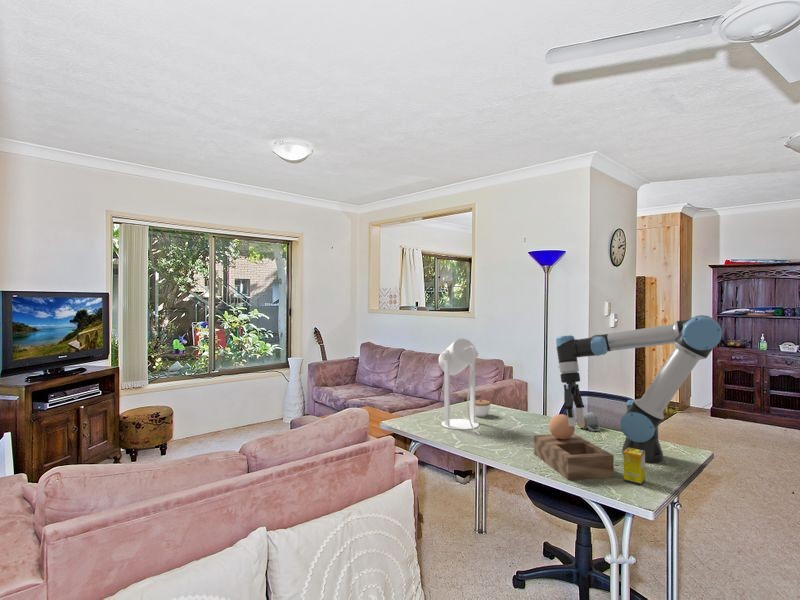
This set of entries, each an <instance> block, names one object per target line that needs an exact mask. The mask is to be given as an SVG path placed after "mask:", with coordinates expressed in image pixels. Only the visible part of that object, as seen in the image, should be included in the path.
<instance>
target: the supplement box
mask: <svg viewBox="0 0 800 600" xmlns="http://www.w3.org/2000/svg"><path fill="white" fill-rule="evenodd" d="M622 456H623V457H622V458H623V464H622V465H623V483H624V482H625V483H628V484H632V485H637V486H642V485H643V484H644V482H645V481H646V462H645V451H643V450H638V449H633V448H627V449H626V450H625V451H624V452H623V454H622Z"/></svg>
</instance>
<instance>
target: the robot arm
mask: <svg viewBox="0 0 800 600" xmlns="http://www.w3.org/2000/svg"><path fill="white" fill-rule="evenodd" d="M722 329H723V328H722V327H721V325H720V324H719V322H718V321H717V320H716V319H715V318H714V317H711V316H708V315H704V314H703V315H695V316H693V317H691V318H686V319H681V320H676V321H675V322H674V323H673V324H672V323H671V324H665V325H659V326H651V327H646V328H645V327H644V328H638V329H637V328H636V329H631V330H623V331H617V332H608V333H604V334H593V335H592V336H590V337H586V338H580V339H576V338H575V336H573V335H571V334H569V335H560V336H558V337H556V339H555V342H556V343H555V344H556V353H557V359H558V366H557V367H558V369H559V372H560V373H561V374H560V375H559V376H560V381H561V383H563V389H564V392H563V394H564V395H563V397H564V406H563V410H566V416H567V417H568V424H569V426H575V427H577V423H578V424H585V423H584V416H583V414H584V410H583V409H584V408H585V405H584V402H583V399H582V395H581V392H580V386H579V383H580V382H581V375H580V372H579V371H580V369H579V367H580V366H579V362H578V358H584V357H593V356H594V357H595V356H597V357H599V356H603V355H606V354H607V353H608V352H613V351H621V350H629V349H638V348H644V347H645V348H647V347H654V346H662V345H671V344H674V345H675V347H674V349H673V350H672V352H671V354H670V355H669V356H668V358H667V359H666V361H665V362H664V364H663V365H662V367H661V368H660V370H659V371H658V373H657V374H656V376H655V377H654V379H653V380H652V381H651V383H650V384H649V385H648V387H647V389H645V392H644V393H643V395H642V396H641V397H640V398H636V399H628V400H627V401H626V412H625V413H624V415H623V416H622V417H621V419H620V424H619V425H620V430H621V432H622V433H623V435H624V436H625V440H624V442H623V445H622V447H621V453H622V455H623V452H624V451H625V450H626V449H627V448H633V449H638V450H643V451H645V463H659V462H662V461H663V460H664V452H663V450H662V447H661V444H660V440H659V426H660V425H661V423H662V421H663V420H664V419H665V416H664V411H665V410H666V409H667V406H669V404H670V402H671V400H673V398H674V397H675V395H676V394H677V393H678V390H679V389H680V388H681V387H682V385H684V382H685V381H686V379H688V377H689V375H690V374H691V372H692V371H693V370H694V368H695V367H696V366H697V364H698V362H699V361H701V360H706V359H707V358H708V357H709V356H710V354H711V352H712V351H713V350H714V348H715V347H716V346H718V345H719V343H720V342H721V340H722V337H723V330H722ZM578 382H579V383H578ZM574 405H575V410H574ZM576 419H577V422H576Z"/></svg>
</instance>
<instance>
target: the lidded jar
mask: <svg viewBox="0 0 800 600" xmlns="http://www.w3.org/2000/svg"><path fill="white" fill-rule="evenodd" d="M490 409H491V401H490V400H486V399H482V398H479V399H475V417H479V418H483V417H487V415H488V414H489V413H490Z"/></svg>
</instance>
